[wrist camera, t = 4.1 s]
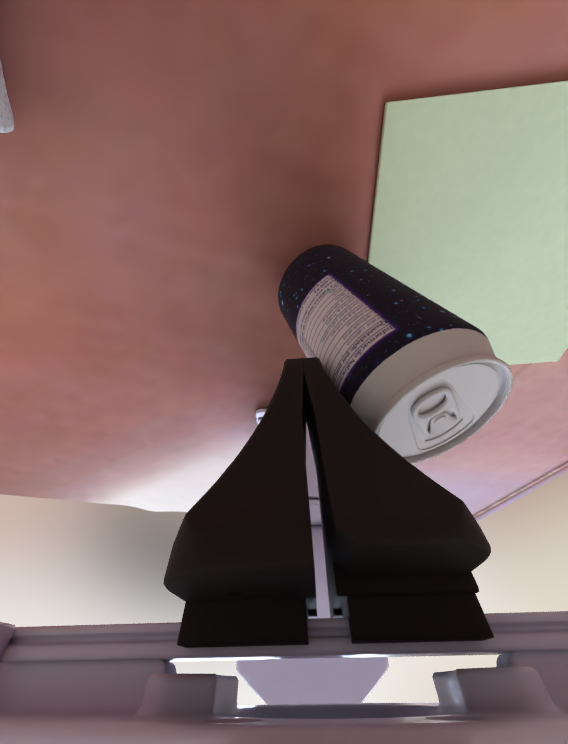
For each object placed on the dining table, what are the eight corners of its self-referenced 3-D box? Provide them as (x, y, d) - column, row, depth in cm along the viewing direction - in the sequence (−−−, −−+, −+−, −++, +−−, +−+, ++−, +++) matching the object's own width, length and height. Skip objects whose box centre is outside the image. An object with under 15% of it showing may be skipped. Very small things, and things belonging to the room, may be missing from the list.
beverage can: (304, 339, 20) (393, 487, 11) (257, 283, 17) (329, 433, 7) (368, 290, 19) (527, 410, 10) (331, 219, 15) (525, 304, 6)
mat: (555, 359, 23) (557, 361, 22) (354, 373, 24) (355, 375, 23) (771, 56, 12) (780, 55, 12) (385, 103, 13) (387, 101, 12)
